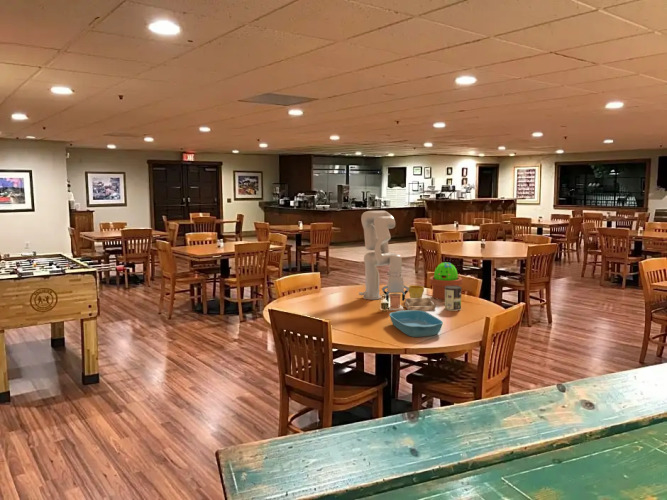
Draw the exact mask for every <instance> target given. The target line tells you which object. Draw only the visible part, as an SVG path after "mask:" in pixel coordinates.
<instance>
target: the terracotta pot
mask: <svg viewBox="0 0 667 500" xmlns="http://www.w3.org/2000/svg"><path fill="white" fill-rule="evenodd" d="M401 297H402V294H401V293H389V301H390V304H389V305H390V307H391V308H399V307H400V305H401Z"/></svg>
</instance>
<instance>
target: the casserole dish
mask: <svg viewBox="0 0 667 500" xmlns="http://www.w3.org/2000/svg"><path fill="white" fill-rule="evenodd" d="M389 318H390V321H391V323H392V325H393V327H394V328H396V329H398V330H399V331H401V332H402V333H404V334H405V335H406V336H408V337H412V338H421V337H431V336H437V335H438V334H439V333H441V332H440V331H441V329H442V326H443V323H444V321H442V319H440V318H438V317H436V316H434V315H432V314H431V313H429V312H427V311H426V310H408V309H407V310H395V311H393V312H390V313H389Z"/></svg>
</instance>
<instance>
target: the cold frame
mask: <svg viewBox="0 0 667 500" xmlns="http://www.w3.org/2000/svg"><path fill="white" fill-rule="evenodd" d="M404 304H405V305H404V307H405V308H406V309H407V310H420V311H435V310H436V304H435V303H434V302H433V301H432V297H422V298H410V297H409V298H406V297H405V300H404Z"/></svg>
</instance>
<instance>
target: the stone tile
mask: <svg viewBox="0 0 667 500" xmlns="http://www.w3.org/2000/svg"><path fill="white" fill-rule="evenodd" d="M402 310H404V307H403V305H401V304H400V307H399V308H391V307H389V309H388V311H402Z"/></svg>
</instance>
